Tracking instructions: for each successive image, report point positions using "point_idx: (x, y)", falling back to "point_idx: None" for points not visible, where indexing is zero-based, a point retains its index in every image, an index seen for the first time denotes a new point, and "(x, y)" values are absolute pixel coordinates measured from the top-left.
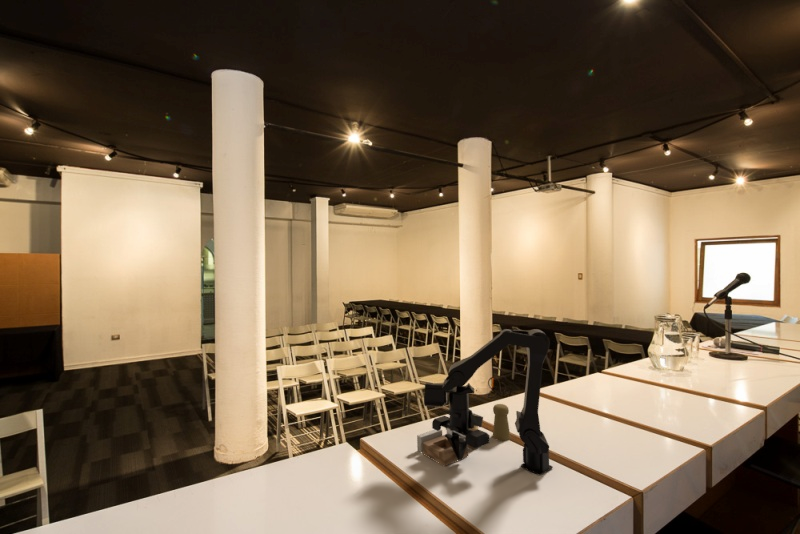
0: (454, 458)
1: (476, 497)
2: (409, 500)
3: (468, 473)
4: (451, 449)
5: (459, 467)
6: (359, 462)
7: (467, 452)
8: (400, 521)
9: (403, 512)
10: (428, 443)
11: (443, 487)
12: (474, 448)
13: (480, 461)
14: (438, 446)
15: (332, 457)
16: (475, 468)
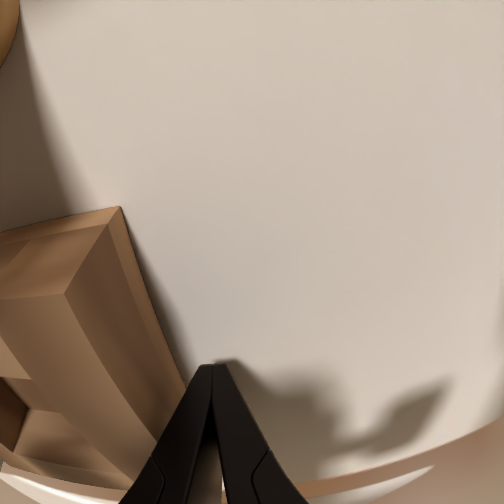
0: (173, 389)
1: (483, 391)
2: (328, 497)
3: (373, 361)
4: (142, 459)
5: (270, 374)
6: (77, 497)
7: (108, 242)
8: (368, 498)
9: (352, 499)
10: (17, 462)
11: (357, 455)
12: (7, 41)
13: (305, 160)
14: (65, 467)
15: (46, 498)
16: (369, 292)
